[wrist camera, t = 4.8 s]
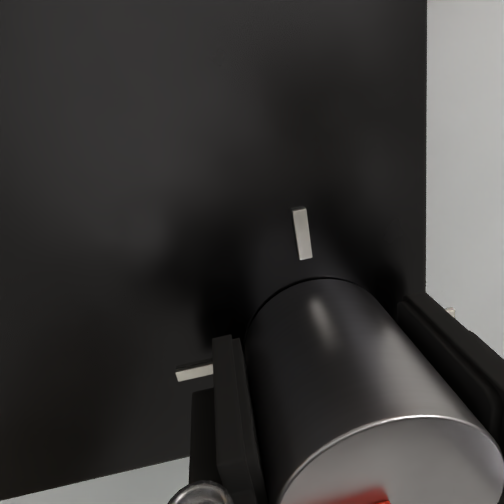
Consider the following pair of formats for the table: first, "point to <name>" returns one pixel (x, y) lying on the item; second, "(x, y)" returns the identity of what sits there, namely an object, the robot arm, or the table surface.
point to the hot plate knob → (359, 408)
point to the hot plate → (187, 202)
